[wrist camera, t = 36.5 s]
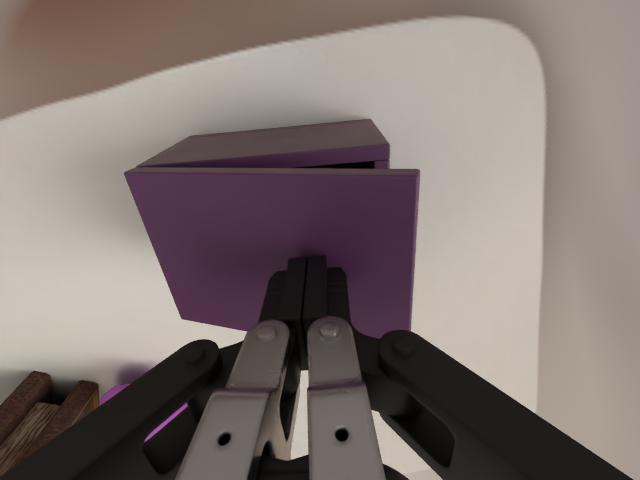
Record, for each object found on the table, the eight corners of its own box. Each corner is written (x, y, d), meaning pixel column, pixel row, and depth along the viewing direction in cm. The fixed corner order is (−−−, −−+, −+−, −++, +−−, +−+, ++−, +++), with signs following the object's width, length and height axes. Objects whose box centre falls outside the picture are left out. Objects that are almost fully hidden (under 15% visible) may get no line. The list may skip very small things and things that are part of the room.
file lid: (420, 168, 11) (418, 175, 10) (409, 348, 15) (408, 362, 14) (136, 166, 15) (122, 172, 14) (190, 310, 19) (180, 319, 18)
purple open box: (371, 118, 20) (390, 143, 14) (373, 238, 24) (388, 297, 18) (189, 135, 20) (134, 166, 15) (221, 249, 24) (188, 309, 19)
